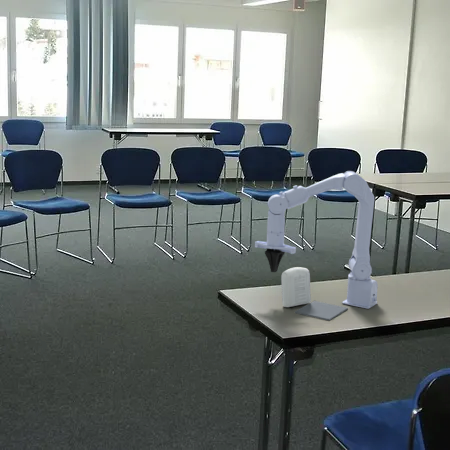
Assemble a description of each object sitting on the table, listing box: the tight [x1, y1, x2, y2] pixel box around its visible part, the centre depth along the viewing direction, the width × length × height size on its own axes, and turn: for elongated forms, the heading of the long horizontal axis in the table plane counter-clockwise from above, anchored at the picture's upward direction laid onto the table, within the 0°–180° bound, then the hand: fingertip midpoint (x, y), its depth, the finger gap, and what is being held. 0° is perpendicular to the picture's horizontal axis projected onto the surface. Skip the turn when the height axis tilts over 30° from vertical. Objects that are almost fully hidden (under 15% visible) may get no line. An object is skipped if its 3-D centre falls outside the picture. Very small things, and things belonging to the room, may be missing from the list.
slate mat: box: [294, 300, 349, 322], centre depth 217 cm, size 12×14×1 cm
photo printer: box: [280, 266, 312, 308], centre depth 221 cm, size 10×4×12 cm, turn 124°
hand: (274, 271), depth 225 cm, fingers closed
